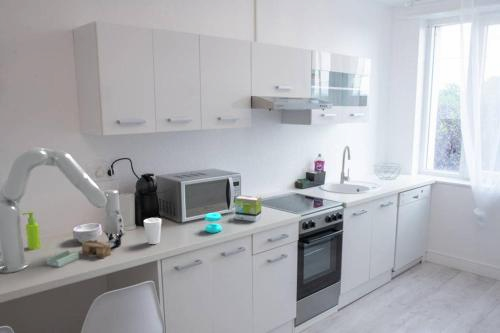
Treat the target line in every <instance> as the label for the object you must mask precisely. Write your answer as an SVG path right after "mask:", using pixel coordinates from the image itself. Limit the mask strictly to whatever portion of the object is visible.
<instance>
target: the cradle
mask: <svg viewBox="0 0 500 333" xmlns="http://www.w3.org/2000/svg"><path fill="white" fill-rule="evenodd" d="M79 256H80V255H79V252H77V251H74V252H73V253H71V254H70V250H64V251H62V252H59V253H57V254H54V255H52V256H50V257H48V258H46V263H45V265H46V266H51V267H54V268H62V267H64V266H66V265H68V264H70V263H73V262H75V261H77V260H79V259H80V257H79Z"/></svg>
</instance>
